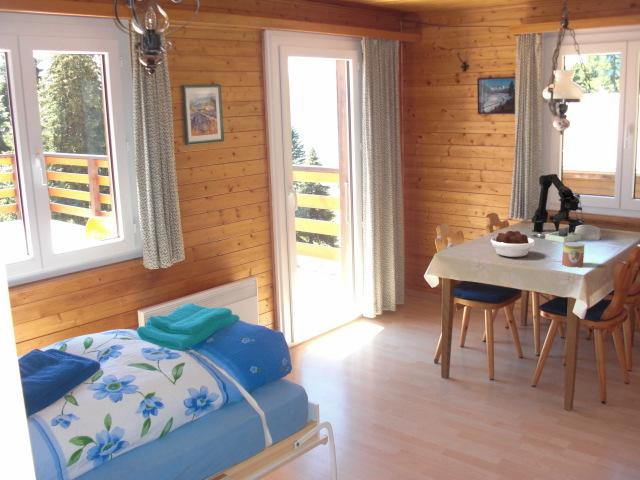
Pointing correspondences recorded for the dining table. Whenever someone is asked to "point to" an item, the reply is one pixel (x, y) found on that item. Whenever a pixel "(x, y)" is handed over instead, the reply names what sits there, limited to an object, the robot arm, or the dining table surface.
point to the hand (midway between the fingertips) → (563, 232)
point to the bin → (556, 238)
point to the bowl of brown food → (512, 244)
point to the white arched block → (588, 232)
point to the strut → (563, 231)
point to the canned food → (573, 254)
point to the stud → (539, 235)
